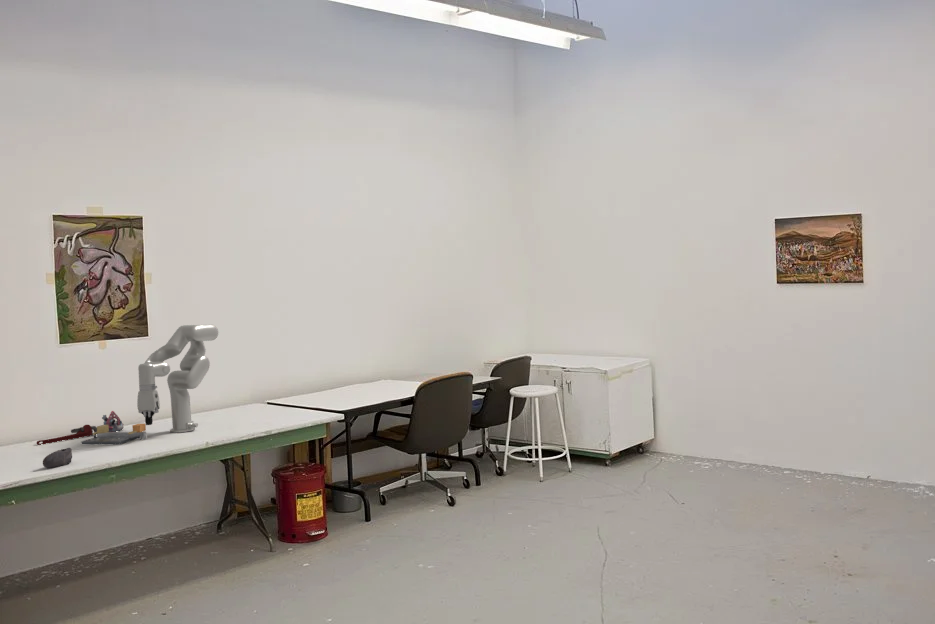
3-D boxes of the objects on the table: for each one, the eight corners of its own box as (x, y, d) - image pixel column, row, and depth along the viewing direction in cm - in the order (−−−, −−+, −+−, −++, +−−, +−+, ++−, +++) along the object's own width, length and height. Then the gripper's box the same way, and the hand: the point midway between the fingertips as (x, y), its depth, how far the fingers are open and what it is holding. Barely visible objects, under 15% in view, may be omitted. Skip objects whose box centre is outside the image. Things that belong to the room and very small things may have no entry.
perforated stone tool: (47, 470, 371) (45, 454, 371) (39, 469, 374) (37, 454, 373) (77, 462, 385) (76, 447, 384) (69, 462, 387) (68, 446, 387)
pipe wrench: (36, 446, 434) (96, 435, 455) (38, 446, 432) (98, 435, 453) (35, 433, 434) (95, 422, 455) (36, 433, 432) (97, 423, 453)
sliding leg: (146, 433, 437) (145, 423, 437) (132, 437, 426) (132, 427, 426) (139, 433, 438) (138, 423, 438) (125, 437, 427) (124, 427, 427)
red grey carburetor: (117, 428, 456) (104, 410, 457) (104, 441, 458) (91, 423, 460) (131, 424, 467) (118, 407, 468) (118, 437, 469) (105, 419, 471)
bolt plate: (148, 437, 437) (147, 424, 437) (129, 444, 422) (128, 430, 422) (102, 438, 444) (101, 424, 443) (81, 444, 428) (80, 430, 428)
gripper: (164, 387, 434) (166, 423, 434) (138, 387, 438) (140, 423, 438) (156, 388, 427) (157, 425, 427) (129, 389, 430) (131, 425, 431)
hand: (149, 424), depth 433 cm, fingers closed
